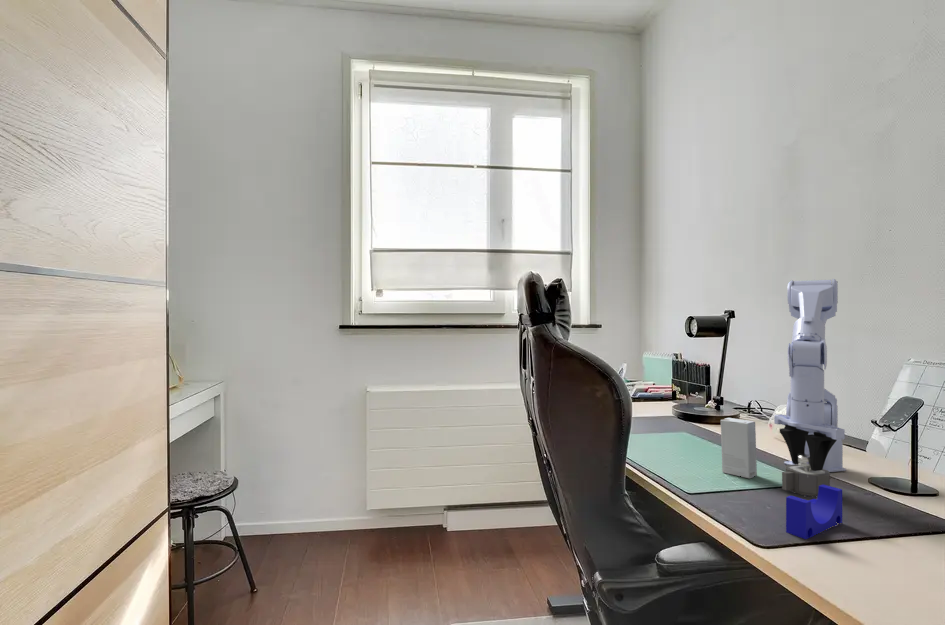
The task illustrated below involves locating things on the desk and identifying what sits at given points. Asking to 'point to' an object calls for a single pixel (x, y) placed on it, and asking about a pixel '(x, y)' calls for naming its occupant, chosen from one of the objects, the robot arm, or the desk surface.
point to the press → (804, 480)
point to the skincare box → (738, 447)
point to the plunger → (804, 461)
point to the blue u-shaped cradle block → (814, 512)
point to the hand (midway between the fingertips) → (807, 466)
